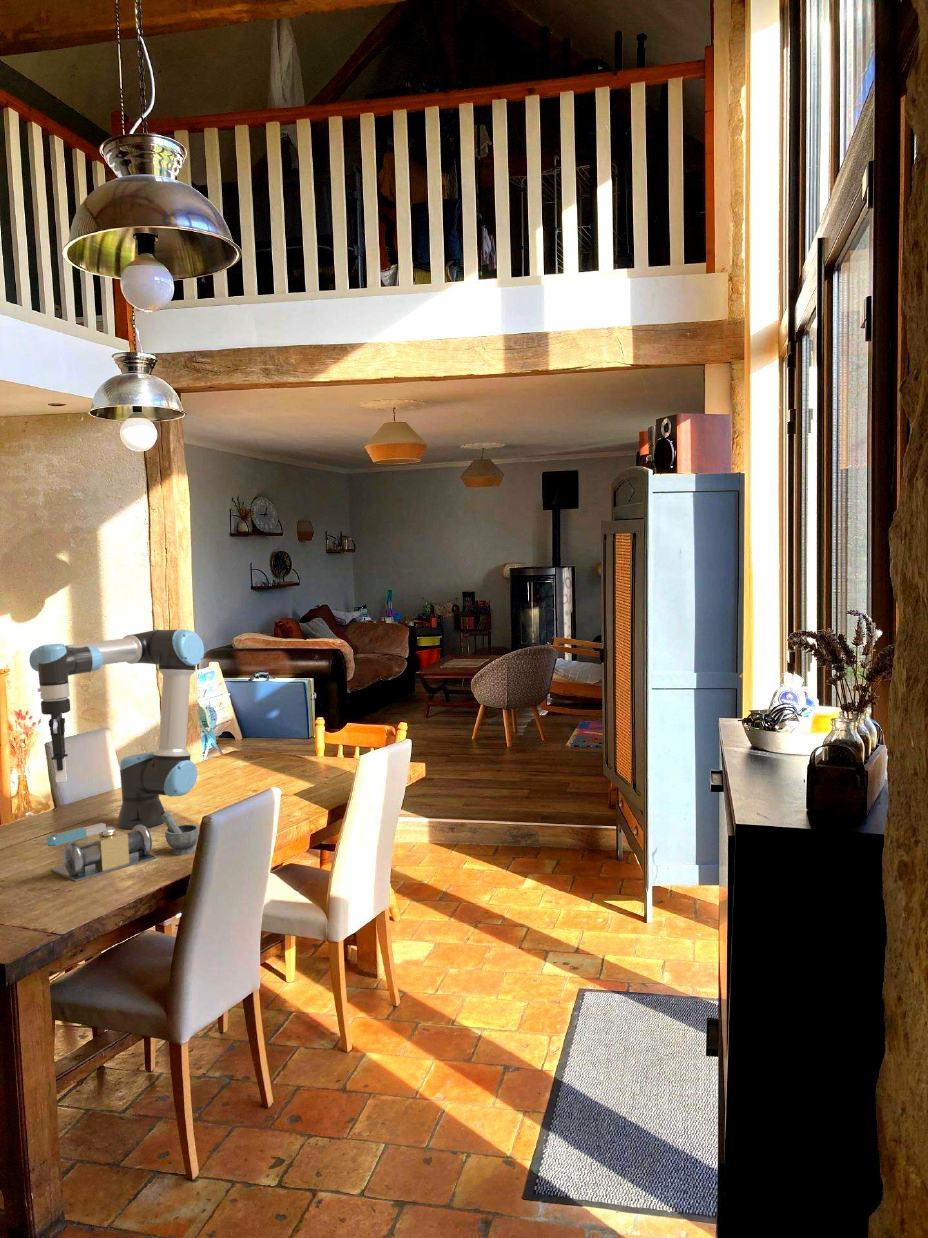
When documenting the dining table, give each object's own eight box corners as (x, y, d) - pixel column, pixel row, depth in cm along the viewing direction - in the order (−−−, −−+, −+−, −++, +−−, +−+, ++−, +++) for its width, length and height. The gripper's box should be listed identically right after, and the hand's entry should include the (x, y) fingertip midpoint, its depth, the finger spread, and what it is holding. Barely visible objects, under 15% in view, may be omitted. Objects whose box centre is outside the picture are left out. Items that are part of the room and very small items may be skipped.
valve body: (130, 849, 280) (128, 818, 279) (155, 858, 270) (154, 826, 269) (51, 870, 262) (48, 837, 261) (75, 881, 252) (73, 847, 251)
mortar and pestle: (205, 847, 279) (203, 808, 278) (191, 857, 270) (189, 816, 269) (171, 846, 281) (169, 807, 280) (156, 856, 272) (153, 816, 271)
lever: (44, 849, 251) (43, 836, 251) (110, 831, 266) (109, 819, 266) (52, 852, 248) (51, 839, 248) (118, 833, 264) (117, 821, 263)
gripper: (43, 697, 266) (49, 777, 268) (37, 703, 254) (44, 787, 256) (71, 694, 268) (77, 774, 270) (67, 701, 256) (73, 784, 258)
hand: (61, 780), depth 263 cm, fingers closed
